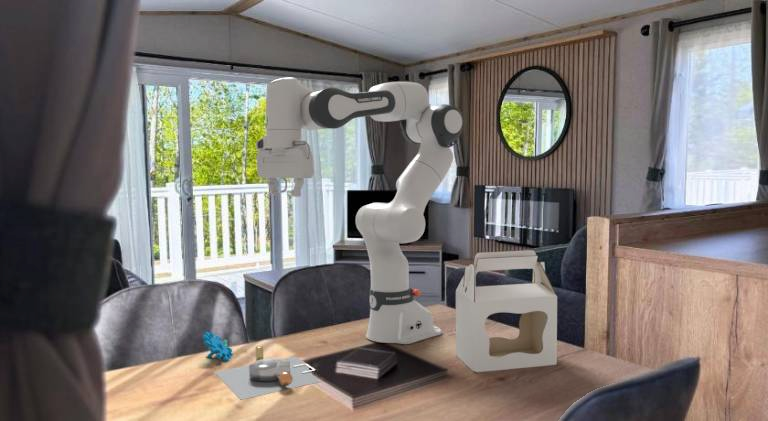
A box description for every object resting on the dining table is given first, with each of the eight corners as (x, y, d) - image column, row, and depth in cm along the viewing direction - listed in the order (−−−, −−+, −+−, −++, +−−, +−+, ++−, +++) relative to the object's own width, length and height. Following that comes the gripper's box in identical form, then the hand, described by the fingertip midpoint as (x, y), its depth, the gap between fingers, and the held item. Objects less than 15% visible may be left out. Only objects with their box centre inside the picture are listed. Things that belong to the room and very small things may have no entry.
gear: (227, 361, 146) (200, 332, 147) (211, 378, 146) (184, 349, 147) (242, 353, 156) (217, 326, 158) (226, 369, 157) (201, 342, 158)
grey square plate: (295, 360, 151) (295, 355, 151) (330, 383, 134) (330, 378, 134) (214, 376, 140) (214, 371, 140) (240, 404, 123) (240, 398, 123)
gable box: (473, 373, 140) (473, 257, 138) (454, 356, 153) (454, 249, 151) (557, 365, 145) (559, 253, 143) (532, 349, 158) (533, 246, 156)
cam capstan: (275, 361, 147) (275, 343, 146) (307, 384, 130) (306, 364, 130) (238, 368, 142) (238, 349, 141) (266, 393, 125) (265, 372, 125)
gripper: (319, 140, 144) (320, 196, 145) (272, 143, 159) (273, 194, 160) (298, 139, 140) (299, 197, 141) (251, 143, 154) (253, 195, 155)
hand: (285, 196), depth 150 cm, fingers open, 8 cm apart
